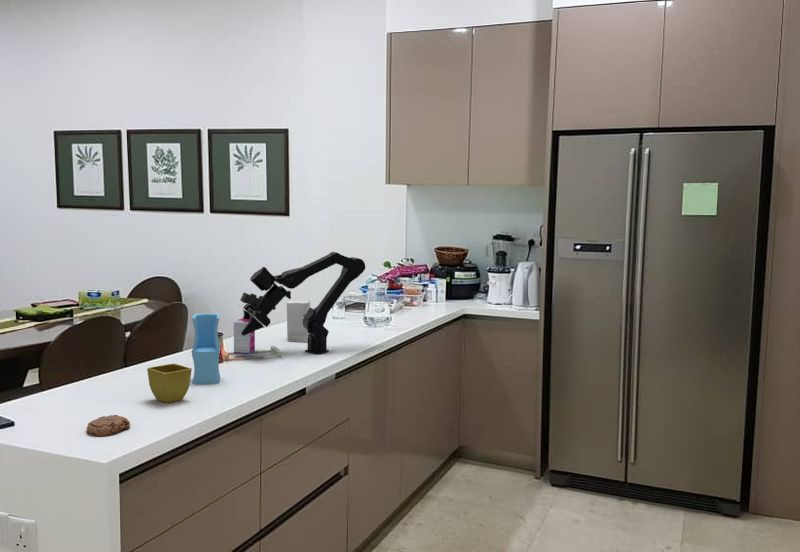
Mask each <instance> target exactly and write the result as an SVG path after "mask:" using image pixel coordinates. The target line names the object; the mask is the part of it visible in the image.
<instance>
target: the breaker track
mask: <svg viewBox="0 0 800 552" xmlns="http://www.w3.org/2000/svg"><path fill="white" fill-rule="evenodd" d="M226 351H227V350H225V349H224V357H222V358H221V359H222V360H223V362H228V361H229V362H231V361H245V360H247V361H248V360H261V359H263V360H264V359H274V358H275V359H277V358H278V359H279V358H283V351H282V350H280V349H279V348H278V347H277V346H276V345H270V349H264V350H263V349H262V350H255V351H254V352H252V353H251V354H263V353H264V354H265V353H271V354H273V355H262V356H248V357H247V356H246V357H231V358H230V356H231V355H233V356H234V355H235V354H234V351H231V352H229V351H227V352H226Z"/></svg>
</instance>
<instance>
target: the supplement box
mask: <svg viewBox="0 0 800 552" xmlns="http://www.w3.org/2000/svg"><path fill="white" fill-rule="evenodd" d="M249 321H250V319H242V318H239V319H236V320H234V321H233V352H234V355H250V354H253V353H252V352H254V351H256V346H255V345H256V343H255V342H256V336H255V335H256V333H255V332H256V330H255V331H253V332H251V333H249V334H246V335H244V336H243V335H242V334H241V333H242V331H243V330H244V329H245V327H246V326H247V324H248V323H249Z"/></svg>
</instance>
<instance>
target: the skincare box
mask: <svg viewBox="0 0 800 552" xmlns="http://www.w3.org/2000/svg"><path fill="white" fill-rule="evenodd" d="M309 308H311V300H291V299H290V300H289V301H288V302H286V329H287V330H286V334H287V336H286V337H287V339H286V342H293V343H308V334H309V333H308V331H307V329H305V328H304V326H303V322H302V321H303V318H304V317H303V315H305V314H306V313H307V311H308V309H309Z"/></svg>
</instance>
